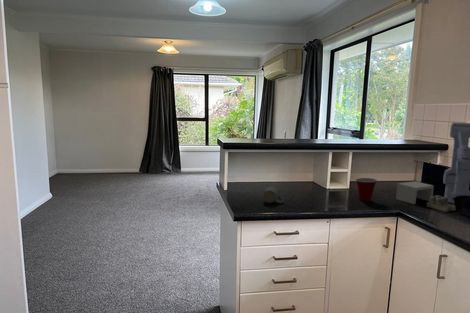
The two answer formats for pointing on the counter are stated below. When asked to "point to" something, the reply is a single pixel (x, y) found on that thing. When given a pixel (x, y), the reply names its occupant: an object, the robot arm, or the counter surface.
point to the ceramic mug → (272, 195)
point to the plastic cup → (365, 188)
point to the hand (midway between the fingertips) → (458, 210)
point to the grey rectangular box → (414, 191)
